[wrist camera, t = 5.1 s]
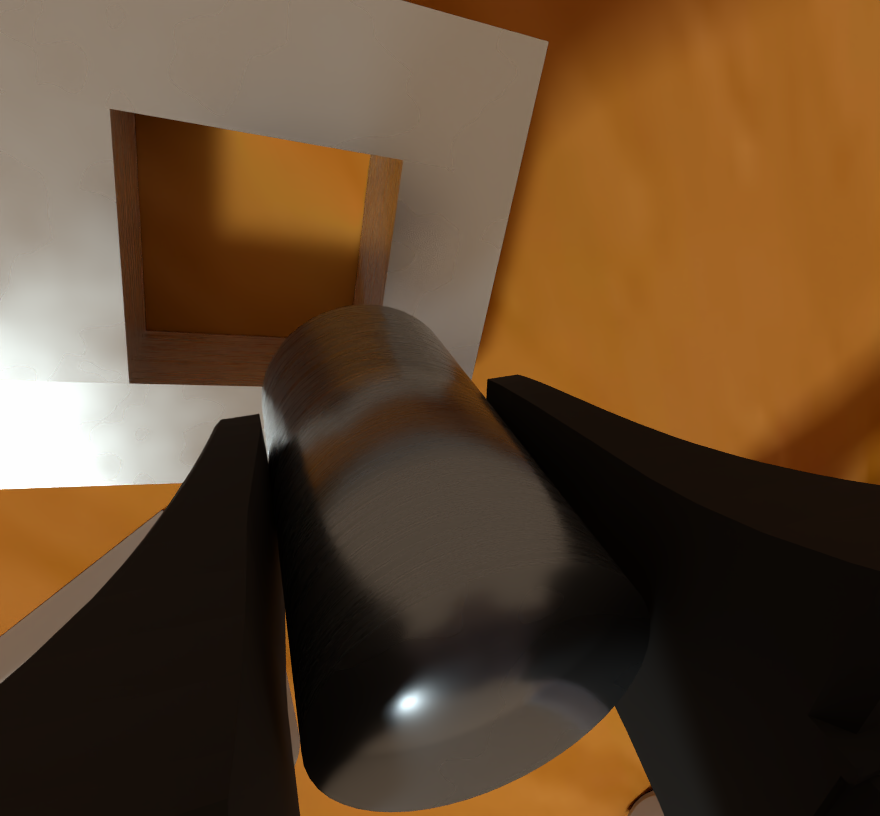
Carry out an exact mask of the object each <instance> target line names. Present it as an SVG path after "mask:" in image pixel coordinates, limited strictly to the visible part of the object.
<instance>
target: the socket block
mask: <svg viewBox="0 0 880 816" xmlns="http://www.w3.org/2000/svg"><path fill="white" fill-rule="evenodd" d="M548 43H549V42H548V41H545V40H541V39H538V38H534V37H531V36H527V35H523V34H520V33H516V32H513V31H509V30H506V29H502V28H499V27H495V26H491V25H488V24H484V23H481V22H477V21H474V20H470V19H466V18H463V17H459V16H456V15H452V14H449V13H445V12H441V11H438V10H434V9H431V8H427V7H424V6H420V5H417V4H413V3H409V2H406V1H402V0H0V489H14V488H44V487H74V486H104V485H135V484H165V483H183V482H184V480H185V479H186V477H187V476H188V474H189V472H190V471H191V469H192V468H193V466H194V464H195V463H196V461H197V459H198V457H199V456H200V454H201V452H202V450H203V448H204V447H205V445H206V443H207V441H208V439H209V437H210V435H211V433H212V431H213V429H214V427H215V426H216V424H217V423H218V422H219V421H220V420H221V419H227V418H234V417H241V416H247V415H254V414H260V420H261V425H262V431H263V436H264V442H265V447H266V453H267V446H266V437H265V429H264V420H263V411H262V386H263V380H264V377H265V373H266V370H267V367H268V365H269V363H270V361H271V359H272V357H273V355H274V354H275V352H276V351H277V350H278V348H279V347H280V345H281V344H282V343H283V342H284V341H285V340H286V338H277V337H259V336H240V335H222V334H203V333H184V332H166V331H147V330H146V318H145V300H144V281H143V262H142V244H141V225H140V206H139V188H138V169H137V151H136V132H135V113H137V114H143V115H149V116H154V117H160V118H166V119H171V120H177V121H183V122H189V123H194V124H200V125H206V126H211V127H217V128H223V129H228V130H234V131H240V132H246V133H251V134H257V135H263V136H268V137H274V138H280V139H286V140H291V141H297V142H303V143H308V144H314V145H320V146H325V147H331V148H337V149H343V150H348V151H354V152H360V153H365V154H371V157H370V165H369V174H368V182H367V191H366V199H365V208H364V216H363V225H362V233H361V242H360V250H359V259H358V267H357V276H356V284H355V293H354V301H353V305H361V304H370V305H381V306H387V307H392V308H395V309H398V310H401V311H403V312H406V313H408V314H410V315H412V316H414V317H415V318H417V319H418V320H420V321H421V322H423V323H424V324H425V325H426V326H427V327H428V328H430V329H431V330H432V331H433V333H434V334H435V335H436V336H437V337H438V339H439V340H440V341H441V342H442V344H443V345H444V346H445V348H446V349H447V350H448V351H449V353H450V354H451V355H452V356H453V358H454V359H455V360H456V361H457V363H458V364H459V365H460V367H461V368H462V369H463V370H464V372H465V373H466V374H467V375H468V377H469V378H470V379H472V375H473V370H474V366H475V361H476V357H477V353H478V348H479V344H480V340H481V335H482V331H483V327H484V322H485V318H486V313H487V309H488V305H489V300H490V296H491V292H492V287H493V283H494V279H495V274H496V270H497V265H498V261H499V257H500V252H501V248H502V244H503V239H504V235H505V230H506V226H507V222H508V217H509V213H510V209H511V204H512V200H513V196H514V191H515V187H516V182H517V178H518V174H519V169H520V165H521V161H522V156H523V152H524V148H525V143H526V139H527V134H528V130H529V126H530V121H531V117H532V113H533V108H534V104H535V99H536V95H537V91H538V86H539V82H540V78H541V73H542V69H543V65H544V60H545V56H546V51H547V47H548ZM267 458H268V455H267Z"/></svg>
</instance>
